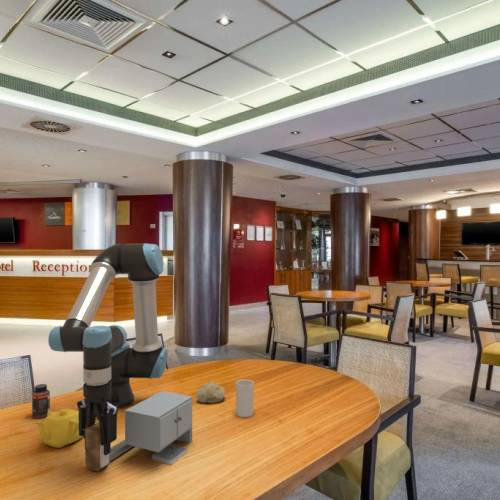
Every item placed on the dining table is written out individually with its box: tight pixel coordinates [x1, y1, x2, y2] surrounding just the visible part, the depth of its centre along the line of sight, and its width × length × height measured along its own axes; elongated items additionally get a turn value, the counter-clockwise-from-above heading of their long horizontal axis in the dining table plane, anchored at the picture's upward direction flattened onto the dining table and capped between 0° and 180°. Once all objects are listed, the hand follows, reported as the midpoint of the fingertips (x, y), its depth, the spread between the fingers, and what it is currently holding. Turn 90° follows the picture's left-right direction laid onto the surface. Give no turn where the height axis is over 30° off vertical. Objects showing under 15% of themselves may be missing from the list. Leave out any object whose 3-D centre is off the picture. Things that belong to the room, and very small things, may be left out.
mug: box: [235, 379, 255, 418], centre depth 159 cm, size 10×7×12 cm, turn 23°
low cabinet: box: [124, 390, 193, 453], centre depth 129 cm, size 13×18×14 cm
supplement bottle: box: [31, 383, 51, 419], centre depth 155 cm, size 6×6×11 cm
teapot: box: [34, 408, 84, 449], centre depth 135 cm, size 14×13×10 cm
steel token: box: [151, 443, 188, 465], centre depth 126 cm, size 7×8×2 cm
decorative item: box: [196, 381, 226, 404], centre depth 171 cm, size 12×9×10 cm
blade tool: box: [84, 422, 134, 472], centre depth 127 cm, size 4×22×11 cm, turn 155°
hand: (97, 463), depth 119 cm, fingers closed on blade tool, 4 cm apart
